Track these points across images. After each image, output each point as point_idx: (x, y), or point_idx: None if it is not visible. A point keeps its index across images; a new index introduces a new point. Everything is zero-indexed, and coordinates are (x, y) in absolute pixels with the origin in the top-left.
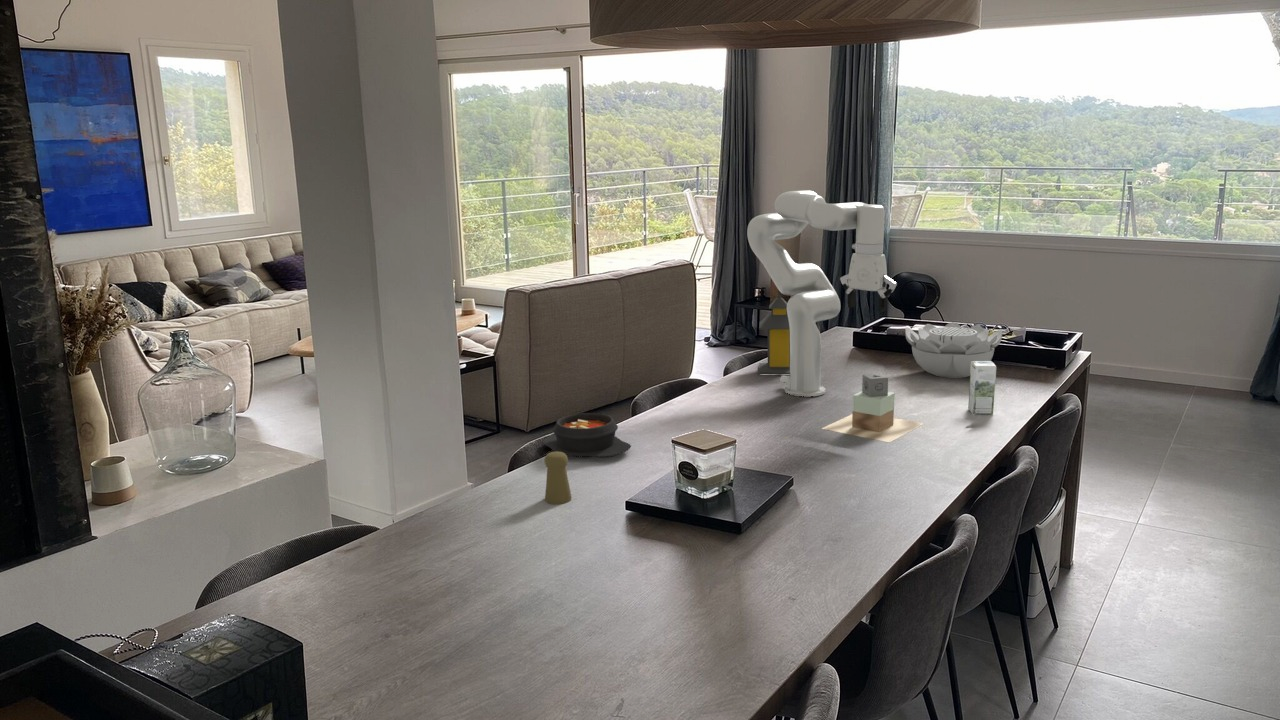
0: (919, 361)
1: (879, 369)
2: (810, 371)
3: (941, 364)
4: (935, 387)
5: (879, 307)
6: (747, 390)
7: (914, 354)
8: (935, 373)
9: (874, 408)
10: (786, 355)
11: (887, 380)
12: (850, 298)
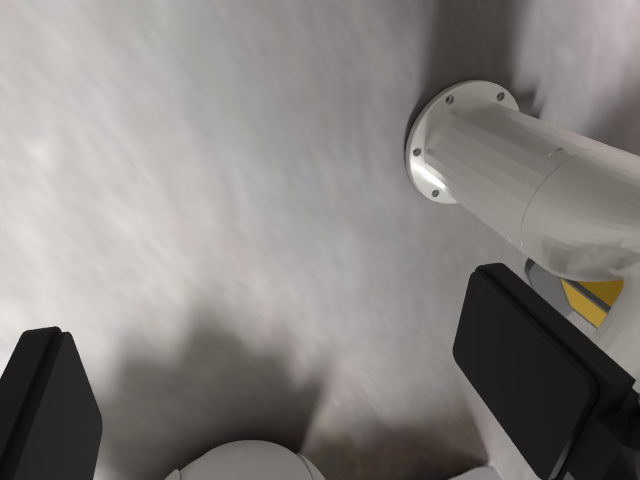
0: (282, 453)
1: (384, 406)
2: (478, 141)
3: (210, 465)
4: (197, 392)
5: (25, 369)
6: (613, 48)
7: (305, 467)
8: (234, 442)
9: None
10: (594, 285)
11: None
12: (554, 344)
